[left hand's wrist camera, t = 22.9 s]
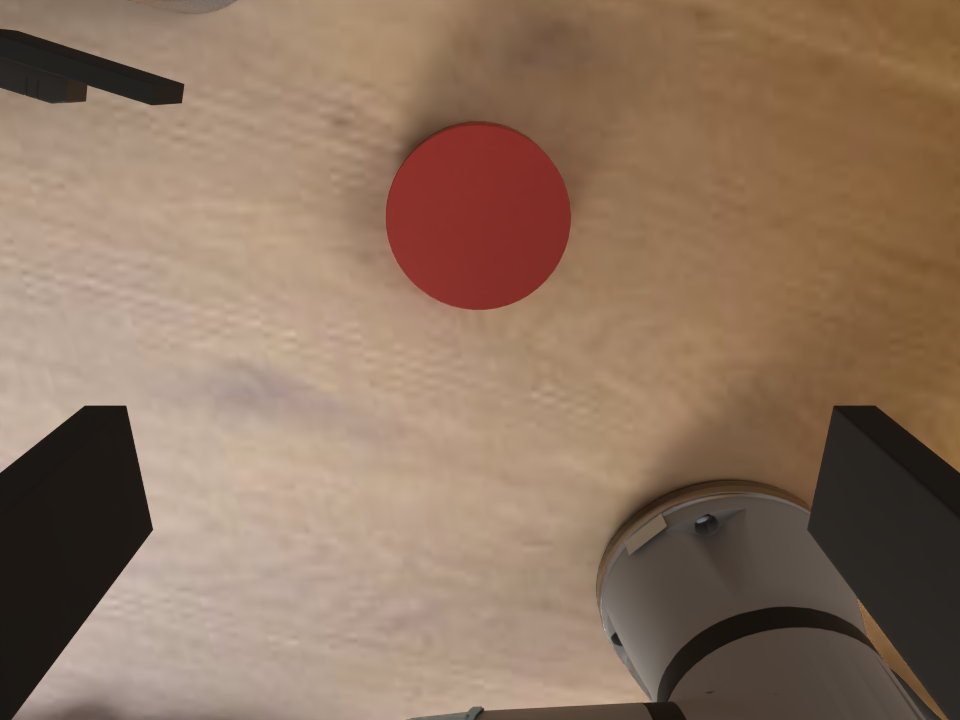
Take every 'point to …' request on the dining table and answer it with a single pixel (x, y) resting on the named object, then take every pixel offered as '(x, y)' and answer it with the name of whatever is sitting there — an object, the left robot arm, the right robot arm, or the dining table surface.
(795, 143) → the dining table surface
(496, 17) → the dining table surface
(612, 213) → the dining table surface
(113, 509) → the left robot arm
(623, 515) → the dining table surface
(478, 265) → the lid
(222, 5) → the jar
